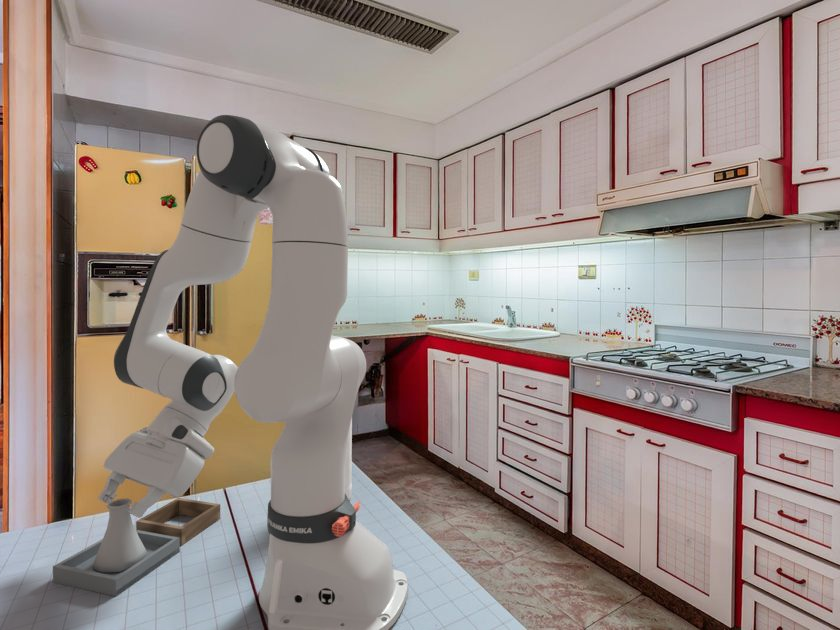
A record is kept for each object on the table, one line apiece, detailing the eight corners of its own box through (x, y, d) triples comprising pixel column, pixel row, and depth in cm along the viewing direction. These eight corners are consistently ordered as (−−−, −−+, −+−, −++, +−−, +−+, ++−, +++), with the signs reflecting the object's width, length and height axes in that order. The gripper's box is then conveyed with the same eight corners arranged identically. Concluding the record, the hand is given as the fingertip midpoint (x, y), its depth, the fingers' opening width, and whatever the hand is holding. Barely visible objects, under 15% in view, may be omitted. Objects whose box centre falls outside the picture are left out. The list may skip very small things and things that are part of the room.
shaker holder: (220, 518, 91) (220, 504, 91) (181, 545, 81) (181, 529, 81) (178, 512, 94) (178, 497, 94) (136, 537, 84) (136, 521, 84)
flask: (120, 577, 71) (119, 515, 70) (81, 571, 72) (80, 510, 72) (155, 552, 78) (155, 495, 77) (120, 547, 79) (119, 491, 79)
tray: (179, 551, 79) (179, 537, 79) (116, 596, 67) (115, 580, 67) (123, 540, 83) (123, 527, 82) (53, 582, 71) (52, 566, 70)
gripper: (130, 417, 86) (71, 486, 77) (197, 434, 75) (137, 515, 67) (154, 434, 90) (100, 501, 81) (221, 452, 79) (167, 531, 71)
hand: (117, 508), depth 74 cm, fingers open, 8 cm apart
